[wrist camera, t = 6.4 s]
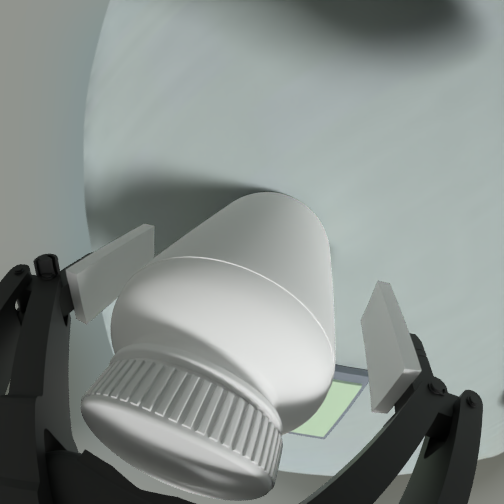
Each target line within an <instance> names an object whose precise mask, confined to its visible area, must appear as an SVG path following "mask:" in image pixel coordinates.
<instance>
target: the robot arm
mask: <svg viewBox="0 0 504 504" xmlns="http://www.w3.org/2000/svg"><path fill="white" fill-rule="evenodd" d="M154 235H155V226H153V225H149V224H145V223H144V224H142V225H141V226H139V227H137V228H135V229H133V230H132V231H130V232H128V233H126V234H124V235H123V236H121V237H119V238H117V239H116V240H114V241H112V242H110V243H109V244H107V245H105V246H103V247H102V248H100V249H98V250H97V251H95V252H92V253H89V254H87V255H85V256H84V257H82V258H81V259H79V260H77V261H76V262H74V263H72V264H71V265H69V266H68V267H66V268H64V269H63V270H61V271H60V269H59V263H58V258H57V256H56V255H54V254H44V255H41V256H39V257H37V258H36V259H35V260H34V266H35V271H36V275H37V276H36V275H31V272H30V268H29V266H28V265H22V264H20V265H17V266H15V267H13V268H12V269H11V270H10V271H9V272H8V273H7V274H6V276H5V277H4V278H3V279H2V280H1V282H0V504H195V503H192V502H189V501H187V500H183V499H181V498H178V497H174V496H168V495H162V494H158V493H153V492H148V491H144V490H141V489H139V488H137V487H136V486H135V485H133V484H132V483H131V482H130V481H128V480H127V479H126V478H125V477H124V476H123V475H122V474H120V473H119V472H118V471H117V470H116V469H115V468H114V467H113V466H111V465H109V464H108V463H106V462H104V461H102V460H101V459H100V458H98V457H96V456H95V455H93V454H92V453H90V452H89V451H87V450H84V452H83V453H82V454H81V453H78V450H77V447H76V444H75V442H74V440H73V437H72V432H71V422H70V410H69V388H68V360H69V337H70V336H69V335H70V324H71V317H70V312H71V311H72V310H74V311H75V315H76V319H78V320H79V321H81V322H83V323H85V324H88V323H89V322H91V321H92V320H93V319H94V318H95V317H96V316H97V315H98V314H99V313H101V312H102V311H103V310H104V309H105V308H106V307H107V306H109V305H110V304H111V303H112V302H113V301H114V300H115V299H117V298H118V297H119V295H120V293H121V291H122V289H123V287H124V286H125V284H126V283H127V281H128V280H129V279H130V278H131V277H132V276H133V275H134V274H135V273H136V272H137V271H138V270H139V269H140V268H141V267H143V266H144V265H145V264H146V263H148V262H149V261H150V260H152V259H153V258H154ZM16 301H17V304H18V306H19V307H18V309H17V310H16V309H15V303H16ZM361 325H362V332H363V338H364V345H365V352H366V360H367V368H368V376H369V386H370V396H371V409H372V412H375V413H388V412H389V411H390V410H391V409H392V408H393V406H395V414H394V415H393V416H392V417H391V418H390V419H389V420H388V421H387V423H386V424H385V425H384V426H383V428H382V429H381V430H380V431H379V432H378V433H377V434H376V436H375V437H374V438H373V439H372V440H371V441H370V442H369V443H368V444H367V445H366V446H365V447H364V448H363V449H362V450H361V451H360V452H359V453H358V454H357V455H356V456H355V457H354V458H353V459H352V460H351V461H350V462H349V463H348V464H347V465H346V466H345V467H344V468H342V469H341V470H340V471H339V472H338V473H337V474H336V475H335V476H333V477H332V478H331V479H330V480H329V481H328V482H326V483H325V484H324V485H323V486H322V487H320V488H319V489H318V490H317V491H316V492H314V493H313V494H311V495H310V496H309V497H307V498H306V499H305V500H303V501H302V502H301V503H299V504H373V503H374V502H375V501H376V500H377V499H378V497H379V496H380V495H381V494H382V493H383V492H384V491H385V489H386V488H387V487H388V486H389V485H390V483H391V482H392V481H393V480H394V478H395V477H396V476H397V475H398V473H399V472H400V471H401V469H402V468H403V467H404V465H405V464H406V463H407V461H408V460H409V459H410V457H411V456H412V454H413V453H414V451H415V450H416V448H417V447H418V445H419V444H420V442H421V441H422V439H423V438H424V436H425V439H424V442H423V445H422V448H421V451H420V454H419V457H418V460H417V462H416V465H415V468H414V470H413V473H412V475H411V478H410V480H409V482H408V485H407V487H406V490H405V492H404V494H403V496H402V498H401V500H400V502H399V504H467V503H468V500H469V496H470V492H471V488H472V484H473V479H474V475H475V470H476V465H477V459H478V453H479V446H480V438H481V428H482V413H483V404H482V400H481V398H480V396H479V395H478V394H477V393H475V392H474V391H471V390H465V391H464V392H463V393H462V394H461V395H460V396H459V397H458V396H455V395H452V394H450V393H448V392H447V387H446V386H445V384H444V383H443V382H442V381H441V380H440V379H438V378H436V377H434V376H433V373H432V370H431V367H430V364H429V361H428V359H427V357H426V353H425V351H424V347H423V345H422V342H421V341H420V339H419V338H418V337H417V336H416V334H411V333H409V331H408V328H407V325H406V323H405V320H404V317H403V315H402V312H401V310H400V307H399V305H398V302H397V300H396V297H395V295H394V292H393V290H392V288H391V285H390V283H386V282H382V281H377V284H376V286H375V289H374V291H373V293H372V296H371V298H370V301H369V303H368V305H367V307H366V310H365V312H364V314H363V316H362V319H361ZM10 379H11V380H10ZM9 382H10V388H9V393H8V395H5V392H6V390H7V387H8V384H9Z"/></svg>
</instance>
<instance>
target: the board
mask: <svg viewBox="0 0 504 504" xmlns="http://www.w3.org/2000/svg"><path fill="white" fill-rule="evenodd" d="M368 382H369V376H368V370H362V369H356V368H351V367H345V366H340V365H335V371H334V377H333V381H332V385H331V387H330V389H329V391H328V394H327V396H326V398H325V400H324V402H323V403H322V405H321V406H320V408H319V409H318V410H317V412H316V413H315V414H314V415H313V416H312V417H311V418H310V419H309V420H308V421H307V422H305V423H304V424H303V425H301V426H300V427H298V428H296V429H295V430H293V431H291V432H289V433H291V434H296V435H301V436H307V437H314V438H320V439H325V438H326V437H327V436H328V434H329V433H330V432H331V431H332V430H333V429H334V427H335V426H336V425H337V424H338V422H339V421H340V420H341V419H342V417H343V416H344V415H345V414H346V412H347V411H348V410H349V408H350V407H351V406H352V404H353V403H354V402H355V400H356V399H357V398H358V396H359V395H360V394H361V392H362V391H363V389H364V388H365V386H366V385H367V384H368Z"/></svg>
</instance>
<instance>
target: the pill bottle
mask: <svg viewBox="0 0 504 504" xmlns="http://www.w3.org/2000/svg"><path fill="white" fill-rule="evenodd" d="M111 339H112V345H113V349H114V353H115V355H114V356H113V357H112V359H111V361H110V364H109V366H108V367H107V368H106V369H105V370H104V371H103V373H102V374H101V375H100V376H99V377H98V379H97V380H96V381H95V382H94V383H93V384H92V386H91V387H90V388H89V389H88V391H87V392H86V393H85V394H84V396H83V397H82V399H81V413H82V416H83V418H84V420H85V422H86V424H87V425H88V427H89V428H90V429H91V431H92V432H93V433H94V434H95V435H96V437H97V438H98V439H99V440H100V441H101V442H102V443H103V444H104V445H105V446H107V447H108V448H109V449H110V450H111V451H112V452H114V453H115V454H116V455H117V456H119V457H120V458H121V459H123V460H124V461H126V462H127V463H129V464H130V465H132V466H133V467H135V468H137V469H138V470H140V471H142V472H143V473H145V474H147V475H149V476H151V477H153V478H155V479H157V480H159V481H161V482H163V483H166V484H168V485H170V486H173V487H176V488H178V489H181V490H184V491H187V492H190V493H194V494H197V495H201V496H205V497H210V498H216V499H223V500H238V501H239V500H240V501H241V500H252V499H257V498H260V497H262V496H264V495H266V494H267V493H268V492H269V491H270V490H271V489H272V488H273V487H274V485H275V480H276V477H277V472H278V468H279V463H280V458H281V453H282V447H283V443H282V438H281V436H282V435H284V434H286V433H289V432H291V431H293V430H295V429H296V428H298V427H300V426H301V425H303V424H304V423H305V422H307V421H308V420H309V419H310V418H311V417H312V416H313V415H314V414H315V413H316V412H317V410H318V409H319V408H320V406H321V405H322V403H323V402H324V400H325V398H326V396H327V394H328V391H329V389H330V387H331V385H332V381H333V377H334V371H335V317H334V297H333V281H332V267H331V255H330V246H329V241H328V237H327V234H326V232H325V229H324V227H323V225H322V223H321V222H320V220H319V219H318V217H317V216H316V215H315V214H314V212H313V211H312V210H311V209H310V208H308V207H307V206H306V205H305V204H303V203H302V202H300V201H299V200H297V199H295V198H293V197H290V196H288V195H285V194H281V193H275V192H259V193H254V194H250V195H246V196H243V197H241V198H239V199H237V200H235V201H233V202H232V203H230V204H229V205H227V206H226V207H224V208H223V209H222V210H220V211H219V212H217V213H216V214H214V215H213V216H211V217H210V218H208V219H207V220H206V221H204V222H203V223H201V224H200V225H198V226H197V227H196V228H194V229H193V230H191V231H190V232H189V233H187V234H186V235H184V236H183V237H182V238H180V239H179V240H177V241H176V242H175V243H173V244H172V245H171V246H169V247H168V248H167V249H165V250H164V251H162V252H161V253H160V254H158V255H157V256H156V257H154V258H153V259H152V260H150V261H149V262H148V263H146V264H145V265H144V266H143V267H141V268H140V269H139V270H138V271H137V272H136V273H135V274H134V275H133V276H132V277H131V278H130V279H129V280H128V281H127V283H126V284H125V286H124V287H123V289H122V291H121V293H120V295H119V297H118V299H117V301H116V303H115V306H114V309H113V313H112V318H111Z"/></svg>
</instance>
